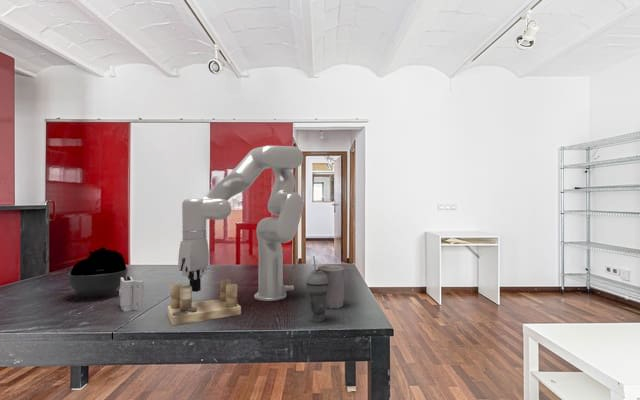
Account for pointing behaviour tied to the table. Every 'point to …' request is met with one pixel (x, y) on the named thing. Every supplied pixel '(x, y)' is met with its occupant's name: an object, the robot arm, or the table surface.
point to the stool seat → (205, 305)
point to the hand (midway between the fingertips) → (195, 290)
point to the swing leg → (186, 299)
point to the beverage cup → (317, 293)
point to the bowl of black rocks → (98, 273)
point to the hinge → (131, 294)
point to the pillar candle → (334, 285)
